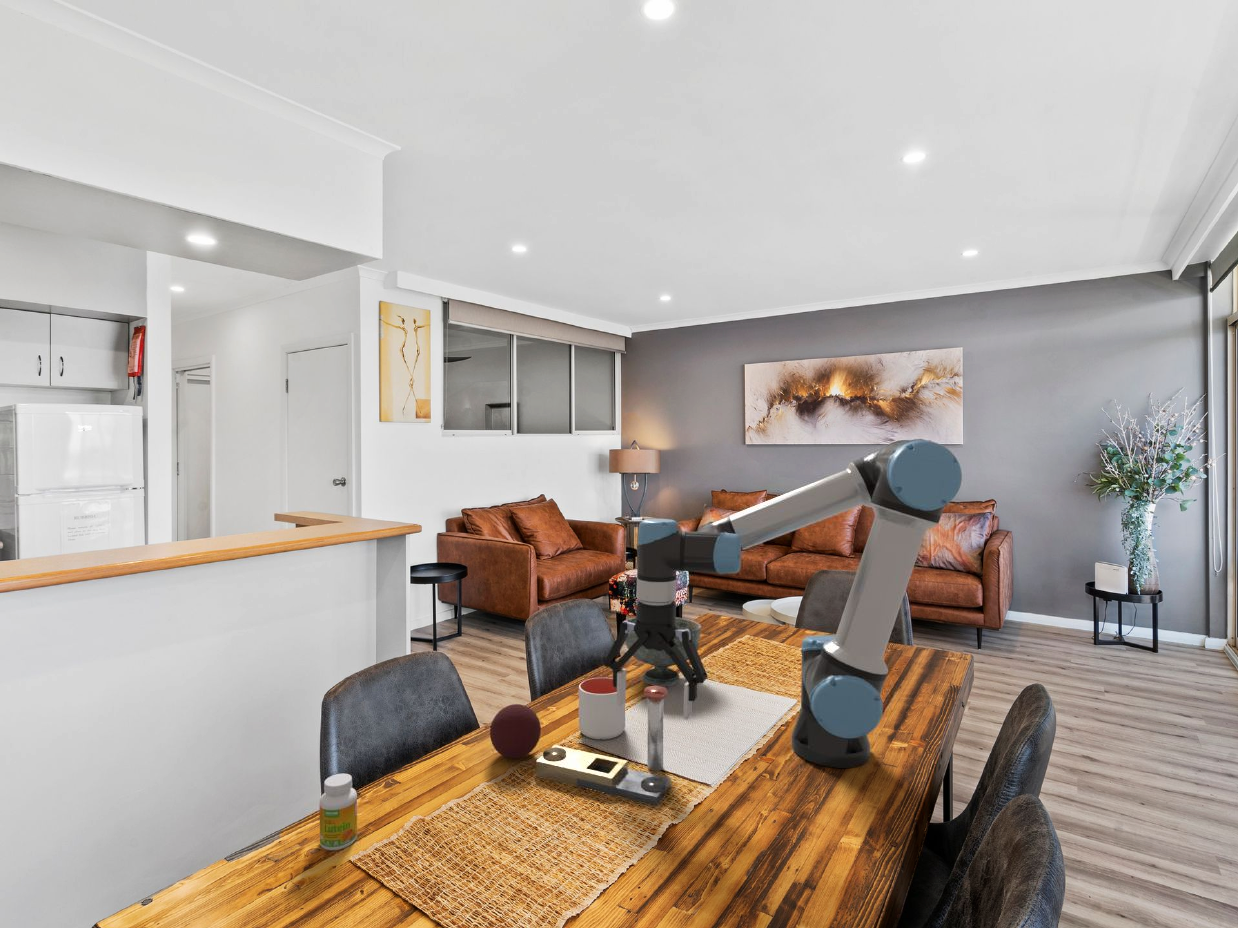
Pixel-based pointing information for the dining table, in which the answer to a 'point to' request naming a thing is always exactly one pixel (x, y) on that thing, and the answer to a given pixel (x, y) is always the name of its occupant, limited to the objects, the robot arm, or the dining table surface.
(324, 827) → the supplement bottle
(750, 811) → the dining table surface
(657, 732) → the pin
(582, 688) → the cup
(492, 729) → the decorative ball
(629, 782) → the chain ends
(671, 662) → the bowl
